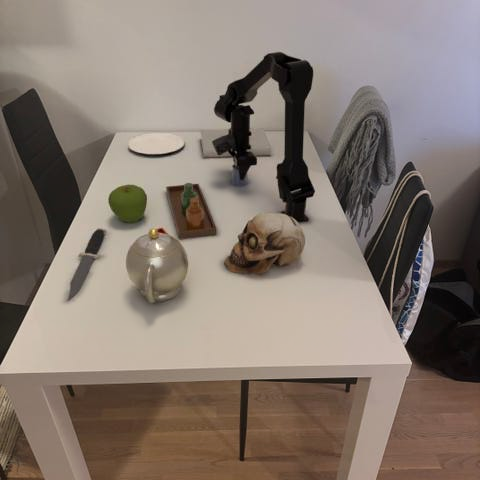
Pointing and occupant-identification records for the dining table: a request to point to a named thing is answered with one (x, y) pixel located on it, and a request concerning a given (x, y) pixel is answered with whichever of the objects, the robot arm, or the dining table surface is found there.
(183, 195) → the green bottle
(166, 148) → the plate
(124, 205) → the apple
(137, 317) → the dining table surface
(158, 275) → the teapot
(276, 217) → the skull
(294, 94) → the robot arm
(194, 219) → the amber bottle
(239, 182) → the blue bottle
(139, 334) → the dining table surface
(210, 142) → the book
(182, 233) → the tray
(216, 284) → the dining table surface
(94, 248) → the knife
